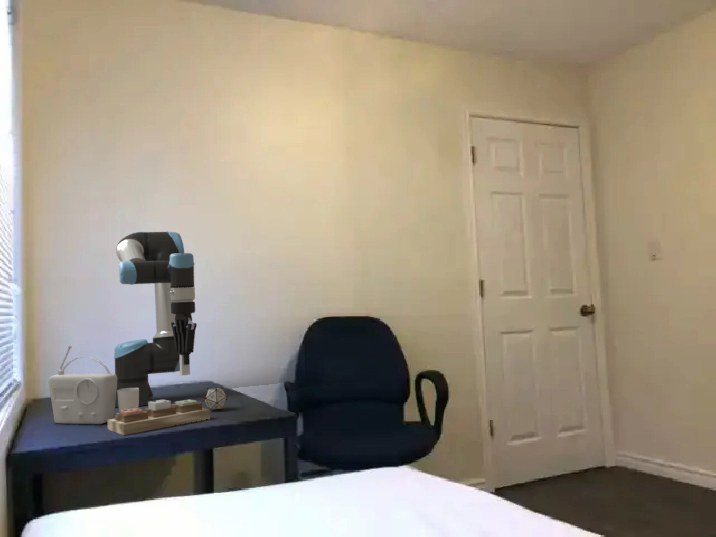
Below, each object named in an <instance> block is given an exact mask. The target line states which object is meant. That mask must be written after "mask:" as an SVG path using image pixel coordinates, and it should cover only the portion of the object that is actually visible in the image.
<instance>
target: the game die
mask: <svg viewBox="0 0 716 537" xmlns="http://www.w3.org/2000/svg"><path fill="white" fill-rule="evenodd" d="M206 389H207V392H206V395H205V397H203V399H204V400H202V402H201V403H204V404H206V406H207V409H209V410H210V411H211V410H213V411H214V410H221V409H222V410H223V411H225V408H224V407H225V403H226V401H227V400H228V398H229V395H227V394H226V393H225V391H224V389H223V385H221V387H216V388H209V387H208V386H207V387H206Z"/></svg>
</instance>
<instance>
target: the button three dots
mask: <svg viewBox="0 0 716 537" xmlns="http://www.w3.org/2000/svg"><path fill="white" fill-rule="evenodd" d="M143 411H144V409H141V408H139V409H138V408H133V409H127V410H120V414H124V415H130V414H136V413H143Z"/></svg>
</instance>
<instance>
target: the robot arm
mask: <svg viewBox="0 0 716 537" xmlns="http://www.w3.org/2000/svg"><path fill="white" fill-rule="evenodd" d="M115 250H116V252H115V254H116V256H117V259H118V260H119V261H120V262H119V264H118V276H119V282H120V284H121V285H130V286H131V285H146V284H147V285H151V284H154V301H155V302H154V304H155V306H154V307H155V323H156V324H155V325H156V333H155V334H154V335H153V337H152V342H149V341H148V340H147V339H146V338H144V339H136V340H130V341H125V342H122V343H118V344H117V345H116V346H115V347H114V356H113V360H114V374H116V376H117V389H116V400H115V408H119V407H118V394H117V390H119V389H125V388H139V407H141V406H142V407H143V406H147V405H148V402H151V401H155V397H154V393H153V391H152V388H151V386H150V382H149V375H153V374H155V375H157V374H164V373H166V374H167V373H176V372H179V375H180V376H187V375H191V366H190V362H191V361H190V359H191V358H190V355H191V353H194V347H195V337H196V329H197V323H196V322H193V316H192V314H194V313H195V312H196V302H195V301H194V300H196V295H195V294H196V293H195V292H196V291H195V290H196V288H195V260H194V259H195V258H194V254H192V253H191V252H185V247H184V243H183V239H182V236H181V235H180V233H178V232H175V231H139V232H133V233H131V234H130V233H129V234H128V235H126V236H124V237H123V238H122V239H120V240H119V242H118V243H117V245H116V248H115Z"/></svg>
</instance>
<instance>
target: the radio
mask: <svg viewBox="0 0 716 537" xmlns="http://www.w3.org/2000/svg"><path fill="white" fill-rule="evenodd" d="M71 349H72V345H71V344H70V345H68V348H67V351H66V353H65V355H64V357H63V360H62V362H61V365H60V366H59V370H58V371H57V374H54V375H51V376H50V377H49V379H48V386H49V387H48V388H49V393H50V399H51V400H50V401H51V407H52V412H53V421H54V422H55V423H56V424H64V425H65V424H66V425H67V424H69V425H70V424H71V425H76V424H77V425H103V424H105V423H107V420H108V419H114V418H115V409H116V407H115V400H116V389H117V376H116V374H115V372H111V371H110V370H109V369H108V367H107V365H105V364H104V363H103V362H102V361H100V360H98V359H96V358H95V357H89V356H82V357H80V359H81V358H86V359H92V360H94V361H95V362H98V363H99V364H100V365H101V366H102V367H104V369H105V371H106V373H105V372H87V373H85V372H75V373H73V372H70V373H67V372H65V370H66V368H67V367H68V366H69V365H70V364H71V362H74V361H76V360H77V359H79V357H76V358H73V359H72V360H70V361H68V363H66V365H65V366H64V364H65V362H66V360H67V358H68V355H69V353H70V351H71Z"/></svg>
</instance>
